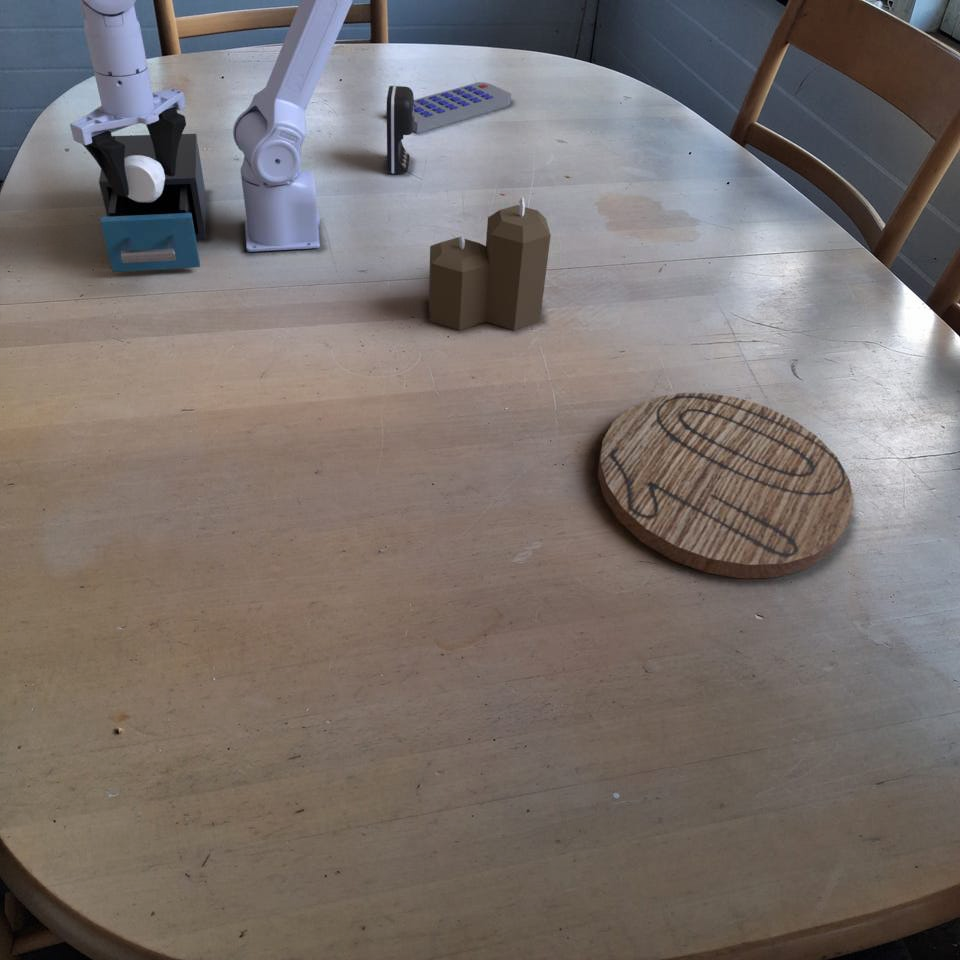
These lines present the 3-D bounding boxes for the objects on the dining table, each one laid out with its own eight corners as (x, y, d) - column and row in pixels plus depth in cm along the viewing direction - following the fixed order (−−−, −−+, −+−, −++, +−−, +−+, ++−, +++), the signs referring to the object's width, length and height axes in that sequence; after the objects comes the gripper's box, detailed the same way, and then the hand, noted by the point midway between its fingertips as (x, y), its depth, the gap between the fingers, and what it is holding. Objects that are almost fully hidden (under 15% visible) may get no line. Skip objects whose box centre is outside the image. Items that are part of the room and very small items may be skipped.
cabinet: (205, 239, 120) (195, 178, 114) (113, 244, 118) (98, 181, 112) (205, 192, 129) (196, 133, 124) (120, 196, 127) (106, 135, 121)
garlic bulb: (178, 184, 113) (171, 141, 109) (163, 206, 109) (155, 163, 105) (135, 180, 113) (126, 138, 109) (118, 203, 109) (108, 159, 105)
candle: (560, 294, 115) (575, 183, 105) (518, 349, 106) (531, 232, 96) (464, 266, 119) (470, 156, 109) (415, 316, 110) (417, 201, 100)
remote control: (387, 118, 153) (387, 105, 151) (485, 89, 164) (486, 77, 163) (417, 134, 149) (417, 121, 147) (515, 104, 160) (516, 91, 159)
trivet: (803, 622, 79) (810, 608, 78) (553, 504, 88) (555, 490, 86) (874, 465, 95) (881, 451, 94) (657, 378, 104) (660, 365, 102)
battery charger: (412, 176, 137) (412, 100, 129) (386, 175, 137) (386, 99, 129) (414, 156, 142) (415, 82, 134) (390, 155, 142) (389, 81, 134)
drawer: (199, 287, 110) (191, 236, 105) (109, 292, 108) (96, 241, 103) (200, 219, 122) (192, 171, 117) (119, 223, 120) (107, 174, 115)
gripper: (89, 95, 94) (117, 215, 104) (195, 59, 103) (212, 173, 113) (46, 77, 97) (77, 196, 106) (153, 44, 106) (173, 156, 115)
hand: (144, 183), depth 110 cm, fingers closed on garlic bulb, 6 cm apart
